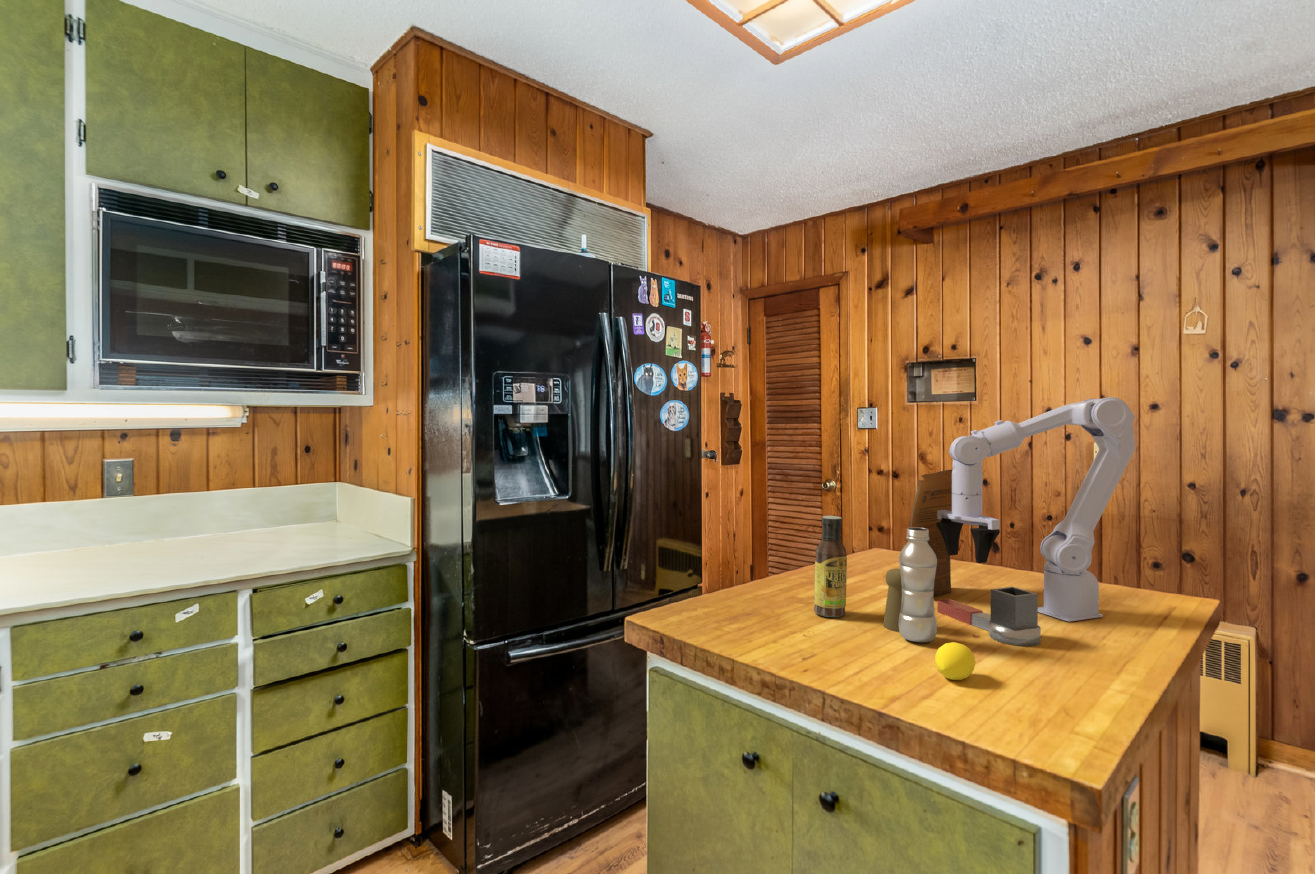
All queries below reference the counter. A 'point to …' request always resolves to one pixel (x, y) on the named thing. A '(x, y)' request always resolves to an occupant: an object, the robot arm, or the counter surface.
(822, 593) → the sauce bottle
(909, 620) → the plastic bottle
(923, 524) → the pancake mix bag
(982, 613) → the ratchet
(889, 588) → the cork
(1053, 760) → the counter surface
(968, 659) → the lemon
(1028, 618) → the square hollow tube
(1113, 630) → the counter surface
